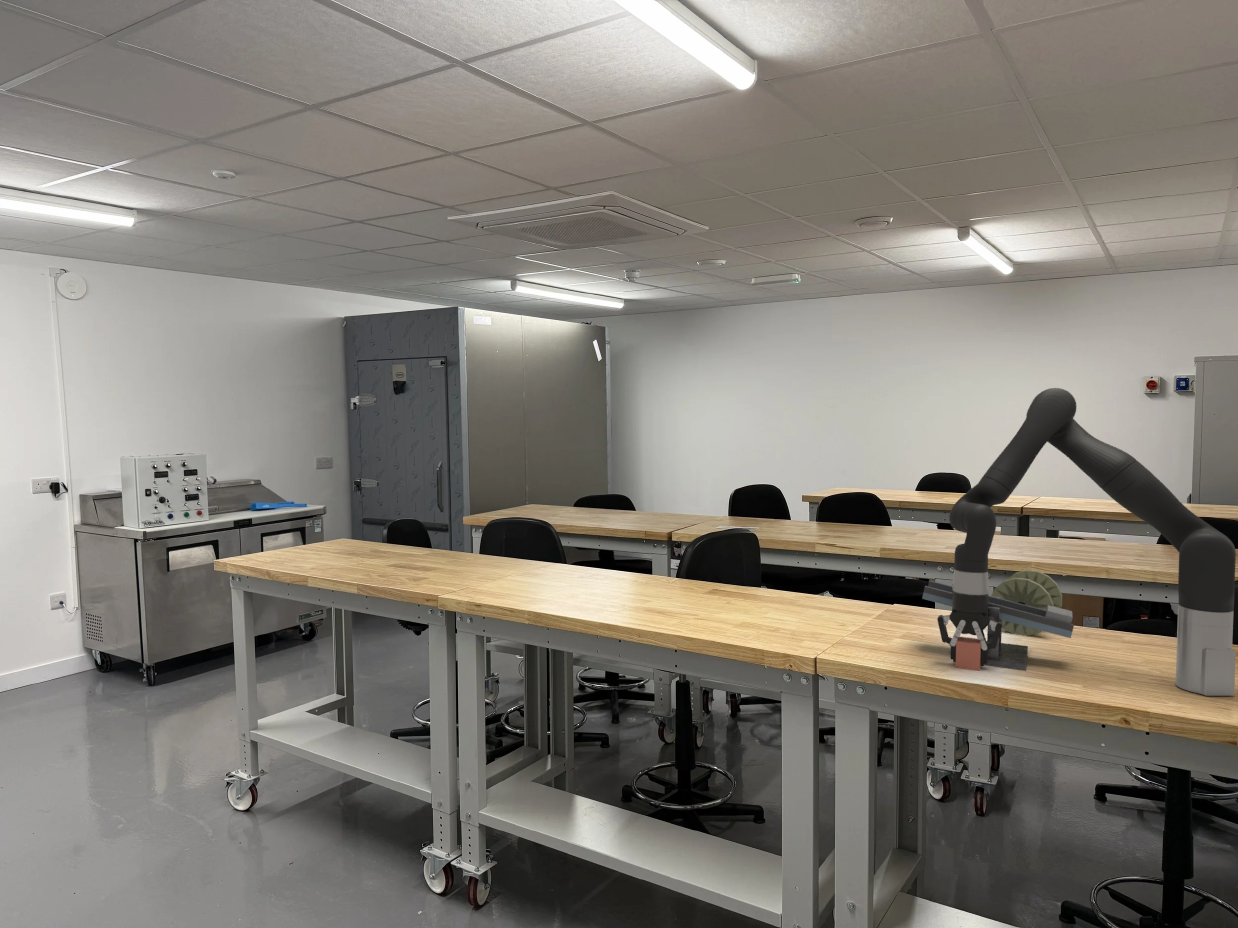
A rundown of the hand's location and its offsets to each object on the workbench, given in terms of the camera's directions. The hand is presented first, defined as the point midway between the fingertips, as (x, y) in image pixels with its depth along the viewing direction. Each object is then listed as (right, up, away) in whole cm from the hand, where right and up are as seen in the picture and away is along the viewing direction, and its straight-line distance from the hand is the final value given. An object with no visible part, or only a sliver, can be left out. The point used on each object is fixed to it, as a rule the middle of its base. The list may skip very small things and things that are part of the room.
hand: (968, 662), depth 177 cm
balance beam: (+10, +11, +8) cm, 16 cm away
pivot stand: (+10, 0, +8) cm, 13 cm away
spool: (+31, 0, +35) cm, 47 cm away
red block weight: (0, -1, 0) cm, 1 cm away
